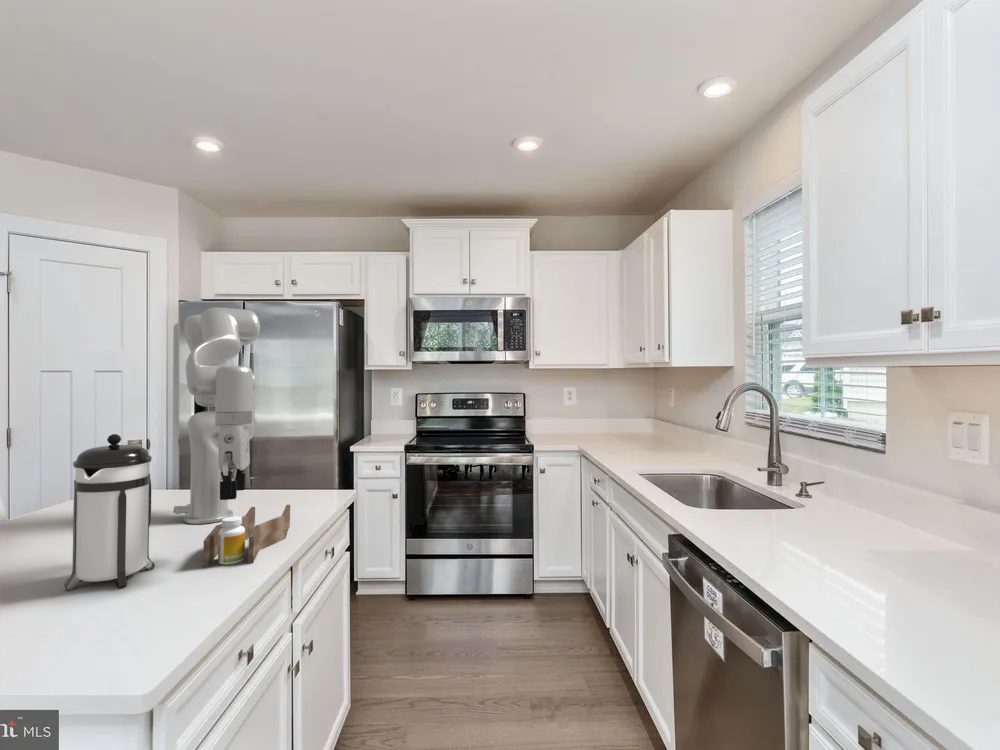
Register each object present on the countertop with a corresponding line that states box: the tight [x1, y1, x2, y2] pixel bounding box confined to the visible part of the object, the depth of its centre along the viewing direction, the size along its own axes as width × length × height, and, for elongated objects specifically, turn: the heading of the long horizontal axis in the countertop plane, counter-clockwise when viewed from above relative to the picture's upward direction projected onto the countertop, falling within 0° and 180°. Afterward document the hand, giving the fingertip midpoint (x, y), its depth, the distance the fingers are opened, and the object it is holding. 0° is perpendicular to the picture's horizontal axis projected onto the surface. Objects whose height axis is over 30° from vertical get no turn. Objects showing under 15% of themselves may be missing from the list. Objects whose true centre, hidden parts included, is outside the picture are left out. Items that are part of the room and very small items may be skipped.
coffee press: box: [63, 433, 156, 591], centre depth 104 cm, size 17×16×30 cm
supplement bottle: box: [217, 515, 246, 566], centre depth 113 cm, size 5×5×10 cm
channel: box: [202, 504, 291, 569], centre depth 124 cm, size 15×28×6 cm, turn 18°
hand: (232, 494), depth 113 cm, fingers open, 9 cm apart
